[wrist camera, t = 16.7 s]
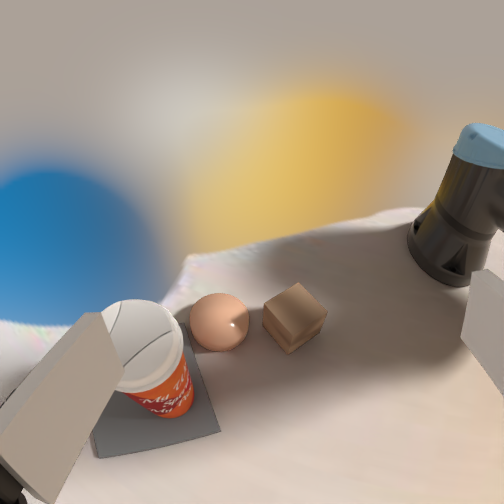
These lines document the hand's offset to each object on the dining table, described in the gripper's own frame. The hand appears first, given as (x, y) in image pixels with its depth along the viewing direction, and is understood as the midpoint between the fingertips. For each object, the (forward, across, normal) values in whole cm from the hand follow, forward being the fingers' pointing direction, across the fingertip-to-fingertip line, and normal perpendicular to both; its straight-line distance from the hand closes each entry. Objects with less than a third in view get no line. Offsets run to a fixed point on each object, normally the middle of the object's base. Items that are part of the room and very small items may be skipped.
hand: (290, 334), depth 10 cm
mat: (+15, -17, -17) cm, 29 cm away
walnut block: (+24, 0, -16) cm, 29 cm away
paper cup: (+15, -14, -18) cm, 27 cm away
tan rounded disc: (+24, -9, -14) cm, 29 cm away
